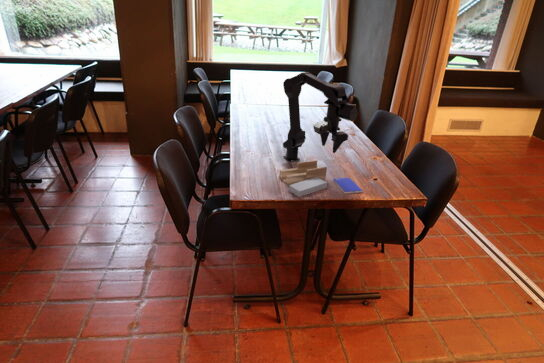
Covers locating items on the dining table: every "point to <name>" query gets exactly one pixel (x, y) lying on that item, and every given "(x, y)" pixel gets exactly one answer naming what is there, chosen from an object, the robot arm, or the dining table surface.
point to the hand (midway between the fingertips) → (328, 149)
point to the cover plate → (307, 186)
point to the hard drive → (347, 185)
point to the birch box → (303, 172)
